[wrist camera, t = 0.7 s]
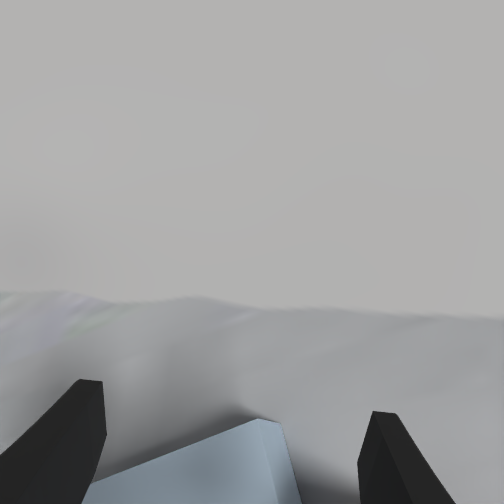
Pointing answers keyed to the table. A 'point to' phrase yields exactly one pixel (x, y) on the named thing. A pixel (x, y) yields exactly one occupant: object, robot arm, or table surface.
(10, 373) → the table surface
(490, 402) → the table surface
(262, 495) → the socket block
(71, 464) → the robot arm
